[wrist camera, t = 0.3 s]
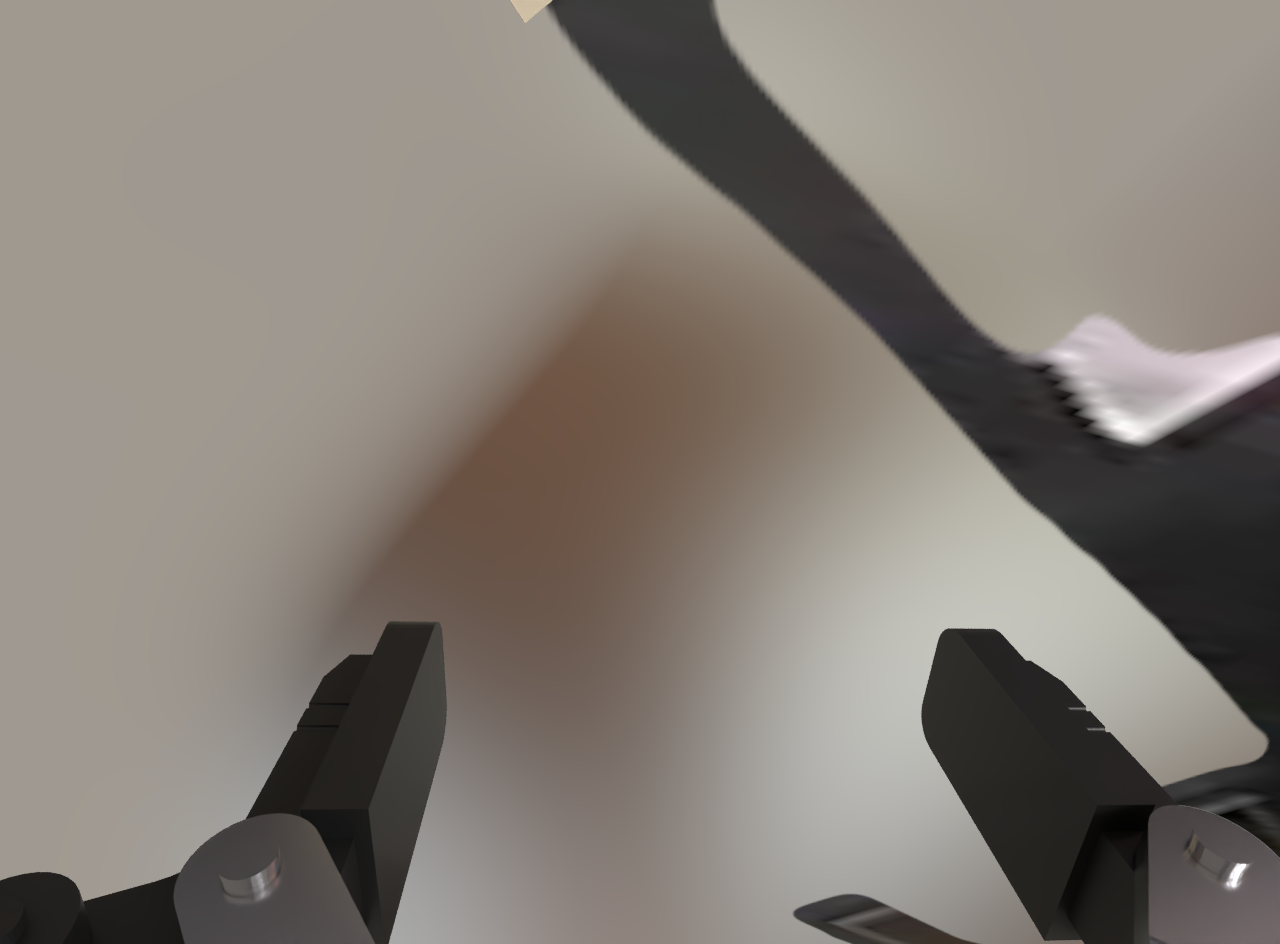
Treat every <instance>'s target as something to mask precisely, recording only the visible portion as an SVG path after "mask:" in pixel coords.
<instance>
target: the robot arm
mask: <svg viewBox="0 0 1280 944" xmlns="http://www.w3.org/2000/svg"><path fill="white" fill-rule="evenodd" d="M446 705H447V704H446V686H445V670H444V653H443V638H442V628H441V625H440V623H439V622H398V621H397V622H396V621H394V622H393V621H392V622H389V623H388V624H387V626H386V627H385V630H384V632H383V634H382V636H381V638H380V640H379V642H378V645H377V647H376V649H375V651H374V653H373V655H349V656H348V657H347V658H346V659H344V660H343V661H342V662H341V663H340V664H339V665H337V666H336V667H335V668H334V669H333V670H331V671H330V672H329V673H328V674H327V675H325V676H324V677H323V679H322V681H321V683H320V685H319V686H318V688H317V690H316V692H315V694H314V695H313V697H312V699H311V701H310V703H309V708H308V709H306V710H305V712H304V714H303V716H302V717H301V719H300V721H299V723H298V725H297V730H296V731H294V732H293V734H292V736H291V738H290V739H289V741H288V743H287V745H286V747H285V748H284V750H283V752H282V754H281V756H280V758H279V759H278V761H277V763H276V765H275V767H274V768H273V770H272V772H271V774H270V776H269V778H268V779H267V781H266V783H265V785H264V787H263V788H262V790H261V792H260V794H259V796H258V798H257V799H256V801H255V803H254V805H253V807H252V809H251V810H250V812H249V814H248V816H247V818H246V819H245V820H243V821H240V822H238V823H235V824H233V825H231V826H230V827H228V828H226V829H224V830H222V831H221V832H219V833H217V834H216V835H214V836H213V837H211V838H210V839H209V840H208V841H206V842H205V843H204V844H203V845H201V846H200V847H199V848H198V849H197V851H195V853H194V854H193V855H192V856H191V857H190V858H189V860H188V861H187V862H186V864H185V865H184V867H183V868H182V870H181V872H180V873H178V874H175V875H173V876H171V877H168V878H165V879H162V880H159V881H155V882H152V883H149V884H145V885H141V886H138V887H134V888H130V889H127V890H123V891H120V892H116V893H112V894H109V895H105V896H101V897H98V898H95V899H91V900H87V901H83V900H82V897H81V894H80V891H79V889H78V888H77V886H76V884H75V883H74V882H73V881H72V880H70V879H69V878H68V877H65V876H63V875H61V874H56V873H50V872H35V873H28V874H22V875H18V876H14V877H9V878H7V879H3V880H1V881H0V944H388V943H389V940H390V936H391V932H392V929H393V925H394V922H395V918H396V914H397V910H398V907H399V903H400V899H401V896H402V892H403V888H404V885H405V881H406V877H407V873H408V870H409V866H410V862H411V858H412V855H413V851H414V848H415V844H416V840H417V837H418V833H419V829H420V826H421V822H422V818H423V814H424V810H425V807H426V803H427V800H428V796H429V792H430V788H431V785H432V781H433V778H434V774H435V770H436V766H437V763H438V759H439V755H440V751H441V748H442V744H443V739H444V733H445V725H446V710H447V709H446V708H447V707H446ZM922 726H923V731H924V734H925V738H926V741H927V743H928V745H929V747H930V749H931V750H932V752H933V754H934V755H935V757H936V759H937V760H938V762H939V764H940V766H941V767H942V769H943V771H944V772H945V774H946V775H947V777H948V779H949V781H950V782H951V784H952V786H953V787H954V789H955V790H956V792H957V794H958V796H959V798H960V799H961V801H962V803H963V804H964V806H965V808H966V809H967V811H968V813H969V814H970V816H971V817H972V819H973V821H974V823H975V824H976V826H977V828H978V829H979V831H980V833H981V834H982V836H983V838H984V840H985V841H986V843H987V845H988V846H989V848H990V850H991V851H992V853H993V855H994V856H995V858H996V860H997V861H998V863H999V865H1000V867H1001V868H1002V870H1003V871H1004V873H1005V875H1006V877H1007V878H1008V880H1009V882H1010V883H1011V885H1012V887H1013V888H1014V890H1015V892H1016V893H1017V895H1018V897H1019V898H1020V900H1021V902H1022V903H1023V905H1024V907H1025V909H1026V910H1027V912H1028V914H1029V915H1030V917H1031V919H1032V920H1033V922H1034V924H1035V925H1036V927H1037V929H1038V930H1039V932H1040V934H1041V935H1042V937H1043V939H1044V940H1045V941H1046V940H1047V941H1049V940H1082V941H1083V942H1084V944H1280V858H1279V857H1278V856H1277V855H1276V854H1275V853H1274V852H1273V851H1272V850H1271V849H1270V848H1269V847H1267V846H1266V845H1265V844H1264V843H1263V842H1262V841H1260V840H1259V839H1258V838H1256V837H1255V836H1253V835H1252V834H1251V833H1249V832H1248V831H1246V830H1244V829H1243V828H1241V827H1240V826H1238V825H1236V824H1234V823H1232V822H1230V821H1229V820H1227V819H1225V818H1222V817H1220V816H1218V815H1215V814H1213V813H1210V812H1207V811H1204V810H1201V809H1197V808H1194V807H1189V806H1182V805H1178V804H1177V803H1176V802H1175V801H1174V800H1173V799H1172V798H1171V797H1170V796H1169V794H1168V793H1167V792H1166V791H1165V790H1164V789H1163V788H1162V787H1161V786H1160V785H1159V784H1158V783H1157V782H1156V781H1155V780H1154V779H1153V777H1151V776H1150V774H1149V773H1148V772H1147V771H1146V770H1145V769H1144V768H1143V767H1142V766H1141V765H1140V764H1139V763H1138V762H1137V760H1136V759H1135V758H1134V757H1132V755H1131V754H1130V753H1129V752H1128V751H1127V750H1126V749H1125V748H1124V747H1123V745H1122V744H1121V743H1120V742H1119V741H1118V740H1117V739H1116V738H1115V737H1114V736H1113V735H1112V734H1111V733H1110V732H1106V731H1105V726H1104V725H1103V724H1102V723H1101V722H1100V721H1099V720H1098V719H1097V718H1096V717H1095V716H1094V715H1093V714H1092V713H1091V711H1086V706H1085V705H1084V704H1083V703H1082V702H1081V701H1080V700H1079V699H1078V698H1077V696H1076V695H1075V694H1074V693H1073V692H1072V691H1071V690H1070V689H1069V688H1068V687H1067V686H1066V685H1065V684H1064V683H1063V682H1062V681H1061V680H1059V679H1058V678H1056V677H1054V676H1053V675H1052V674H1050V673H1049V672H1047V671H1045V670H1044V669H1042V668H1041V667H1039V666H1038V665H1036V664H1035V663H1033V662H1032V661H1026V660H1025V659H1024V658H1023V657H1022V656H1021V655H1020V654H1019V653H1018V652H1017V650H1016V649H1015V648H1014V647H1013V646H1012V645H1011V644H1010V643H1009V642H1008V640H1007V639H1006V638H1005V637H1004V636H1003V635H1002V634H1001V633H1000V632H998V631H997V630H995V629H946V630H944V631H943V632H942V634H941V635H940V637H939V640H938V644H937V648H936V652H935V656H934V660H933V664H932V668H931V672H930V676H929V680H928V684H927V688H926V692H925V696H924V700H923V704H922Z"/></svg>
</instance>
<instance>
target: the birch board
mask: <svg viewBox="0 0 1280 944" xmlns="http://www.w3.org/2000/svg"><path fill="white" fill-rule="evenodd" d="M551 1H552V0H510V2H511V3H512V4H513V6H514V8H515V9H516V11H517V12H518V14H519V15H520V17H521V18H522V20H523V21H524V23H526V22H528V21H529V20H530V19H531V18H532V17H533V16H534V15H536V14H537V13H538V12H539V11H540V10H542V9H543V8H544V7H545V6H546V5H548V4H549V3H550V2H551Z"/></svg>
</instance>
